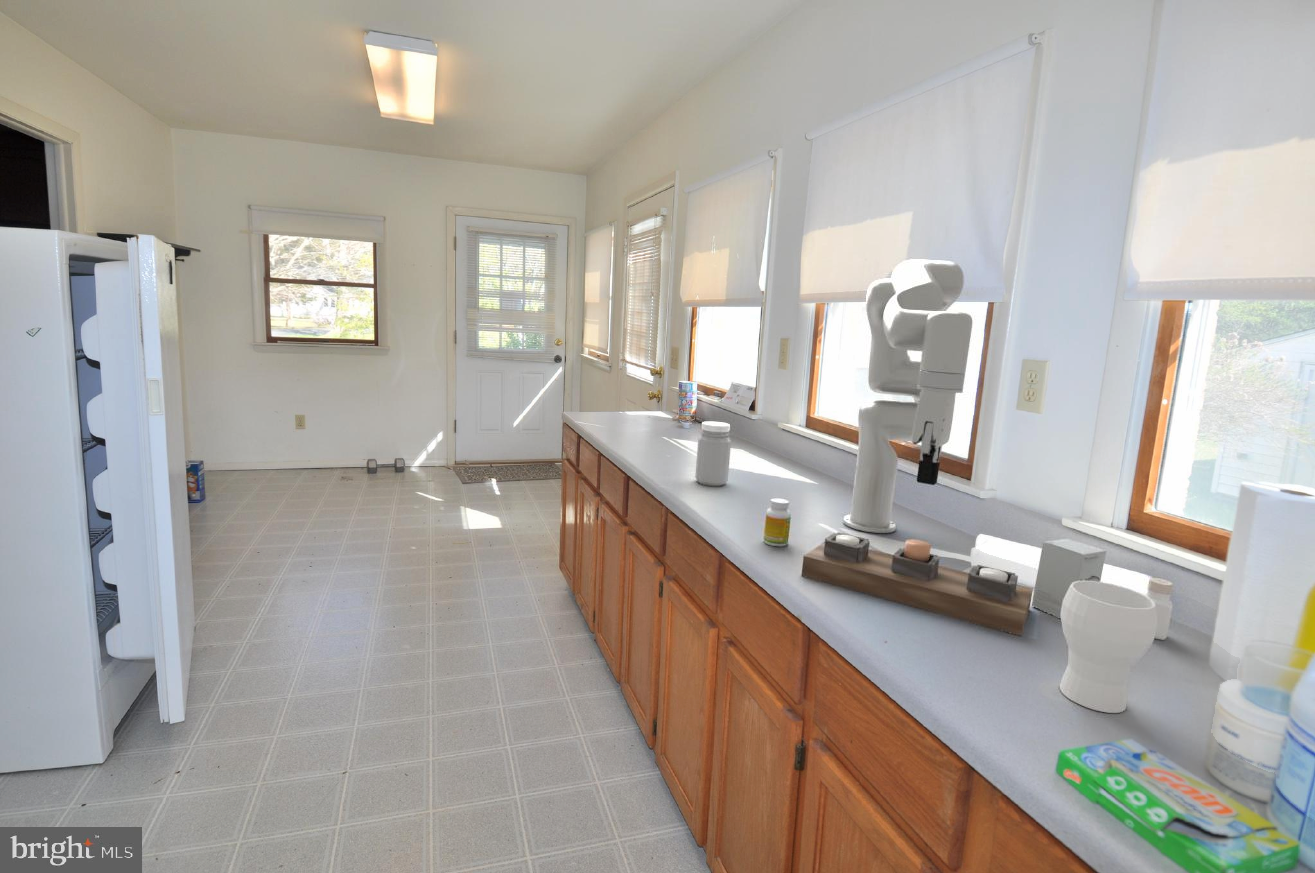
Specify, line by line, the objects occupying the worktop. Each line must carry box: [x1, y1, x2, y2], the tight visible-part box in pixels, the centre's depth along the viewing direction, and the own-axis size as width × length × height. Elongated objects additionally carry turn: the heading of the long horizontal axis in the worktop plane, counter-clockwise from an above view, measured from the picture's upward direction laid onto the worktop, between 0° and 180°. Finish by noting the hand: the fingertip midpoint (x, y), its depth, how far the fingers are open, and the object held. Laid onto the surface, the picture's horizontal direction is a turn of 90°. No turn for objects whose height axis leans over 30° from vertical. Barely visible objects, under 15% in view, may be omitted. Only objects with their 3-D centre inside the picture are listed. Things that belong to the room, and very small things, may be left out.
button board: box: [800, 531, 1034, 637], centre depth 125 cm, size 14×38×7 cm, turn 57°
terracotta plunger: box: [904, 538, 932, 563], centre depth 124 cm, size 4×4×3 cm
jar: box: [694, 420, 732, 487], centre depth 200 cm, size 10×10×18 cm
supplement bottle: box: [763, 497, 792, 547], centre depth 148 cm, size 5×5×10 cm
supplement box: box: [1031, 538, 1107, 620], centre depth 120 cm, size 7×7×13 cm
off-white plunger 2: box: [979, 567, 1008, 582], centre depth 118 cm, size 4×4×3 cm
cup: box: [1059, 581, 1157, 714], centre depth 91 cm, size 11×11×15 cm
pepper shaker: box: [1144, 577, 1174, 641], centre depth 113 cm, size 4×4×10 cm
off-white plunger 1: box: [836, 534, 859, 546], centre depth 132 cm, size 4×4×3 cm
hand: (926, 482), depth 122 cm, fingers closed
